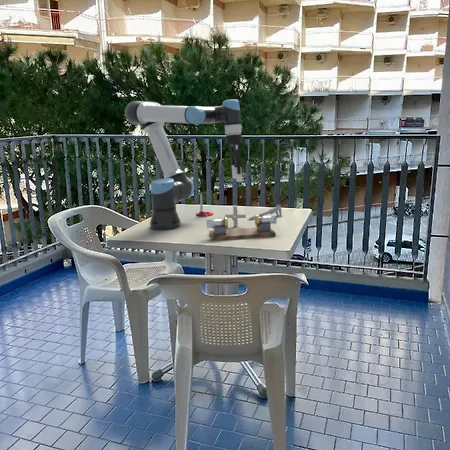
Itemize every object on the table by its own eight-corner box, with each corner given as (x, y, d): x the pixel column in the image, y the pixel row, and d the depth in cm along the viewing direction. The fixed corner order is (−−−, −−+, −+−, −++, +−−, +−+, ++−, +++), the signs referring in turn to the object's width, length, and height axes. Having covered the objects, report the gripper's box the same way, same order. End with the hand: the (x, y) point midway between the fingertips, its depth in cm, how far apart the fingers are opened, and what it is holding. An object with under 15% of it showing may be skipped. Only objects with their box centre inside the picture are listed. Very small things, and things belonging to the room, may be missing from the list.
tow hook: (203, 213, 242) (194, 215, 234) (202, 190, 239) (193, 192, 231) (215, 214, 238) (207, 217, 230) (215, 191, 235) (206, 193, 227)
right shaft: (257, 232, 187) (257, 216, 186) (254, 229, 193) (254, 213, 192) (277, 230, 189) (277, 215, 187) (273, 227, 194) (273, 212, 193)
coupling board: (212, 240, 182) (212, 237, 182) (209, 233, 194) (209, 230, 194) (275, 236, 186) (275, 232, 186) (269, 229, 197) (269, 226, 197)
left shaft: (208, 235, 185) (207, 220, 183) (206, 232, 191) (205, 217, 189) (228, 234, 186) (227, 218, 184) (226, 231, 192) (225, 215, 190)
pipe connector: (244, 228, 201) (243, 208, 198) (223, 228, 203) (222, 208, 200) (247, 224, 210) (246, 204, 208) (227, 223, 212) (226, 204, 210)
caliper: (280, 215, 228) (280, 203, 227) (281, 215, 227) (281, 204, 226) (247, 220, 219) (247, 208, 218) (248, 220, 218) (248, 208, 217)
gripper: (245, 133, 185) (249, 181, 189) (237, 133, 209) (241, 176, 214) (228, 134, 184) (232, 183, 189) (222, 135, 209) (226, 178, 213)
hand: (237, 179), depth 201 cm, fingers open, 13 cm apart
